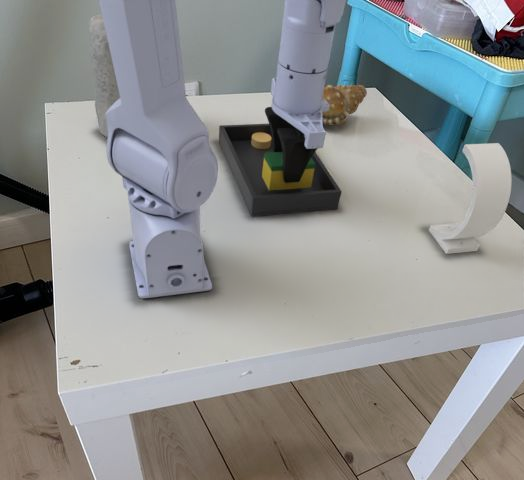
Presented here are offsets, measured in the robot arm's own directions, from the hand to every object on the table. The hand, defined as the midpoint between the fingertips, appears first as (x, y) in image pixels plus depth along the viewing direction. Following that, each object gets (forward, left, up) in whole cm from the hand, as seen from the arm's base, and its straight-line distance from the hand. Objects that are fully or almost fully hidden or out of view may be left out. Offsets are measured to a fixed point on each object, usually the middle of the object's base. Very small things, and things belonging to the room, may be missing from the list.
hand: (286, 172), depth 67 cm
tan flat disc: (+12, 0, -2) cm, 12 cm away
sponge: (0, 0, -1) cm, 1 cm away
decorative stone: (+20, +18, -3) cm, 27 cm away
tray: (+5, 0, -3) cm, 6 cm away
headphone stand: (-14, -19, -3) cm, 24 cm away
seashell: (+20, -14, -3) cm, 24 cm away
